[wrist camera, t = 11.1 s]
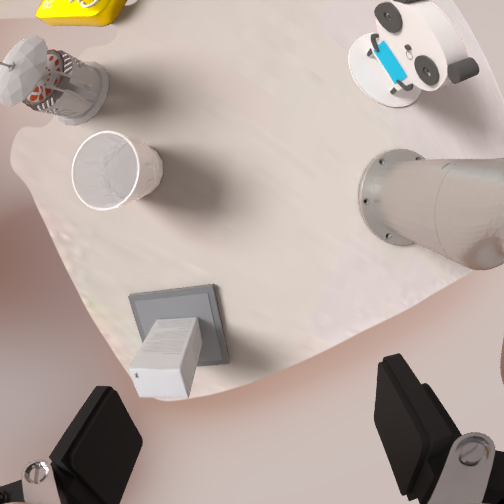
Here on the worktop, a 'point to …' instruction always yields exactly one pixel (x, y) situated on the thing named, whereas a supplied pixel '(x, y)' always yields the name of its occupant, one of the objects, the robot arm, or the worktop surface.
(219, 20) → the worktop surface
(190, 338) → the skincare box
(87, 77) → the french press
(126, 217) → the worktop surface
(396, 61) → the panda figurine
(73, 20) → the element tile
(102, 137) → the white cup
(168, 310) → the tray
